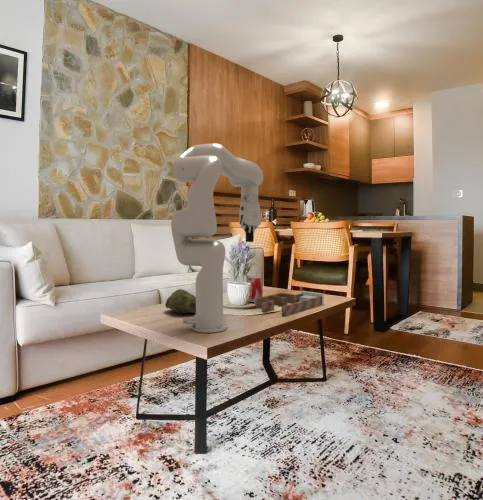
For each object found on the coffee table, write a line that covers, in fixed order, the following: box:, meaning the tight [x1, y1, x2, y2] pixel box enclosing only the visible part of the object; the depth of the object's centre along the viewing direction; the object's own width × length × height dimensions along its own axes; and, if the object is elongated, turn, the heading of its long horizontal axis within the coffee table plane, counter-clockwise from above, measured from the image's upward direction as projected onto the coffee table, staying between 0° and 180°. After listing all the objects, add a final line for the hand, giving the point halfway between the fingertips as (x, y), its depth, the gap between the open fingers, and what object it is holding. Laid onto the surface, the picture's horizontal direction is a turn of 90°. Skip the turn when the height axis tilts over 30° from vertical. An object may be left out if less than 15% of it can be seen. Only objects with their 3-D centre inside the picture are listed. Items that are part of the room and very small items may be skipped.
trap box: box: [254, 292, 323, 317], centre depth 176 cm, size 30×20×4 cm, turn 139°
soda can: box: [247, 275, 264, 302], centre depth 187 cm, size 7×7×12 cm
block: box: [299, 295, 316, 302], centre depth 180 cm, size 6×6×4 cm
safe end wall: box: [300, 290, 325, 306], centre depth 185 cm, size 1×11×5 cm, turn 49°
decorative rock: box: [165, 288, 196, 315], centre depth 165 cm, size 15×16×10 cm
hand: (249, 241), depth 174 cm, fingers closed
